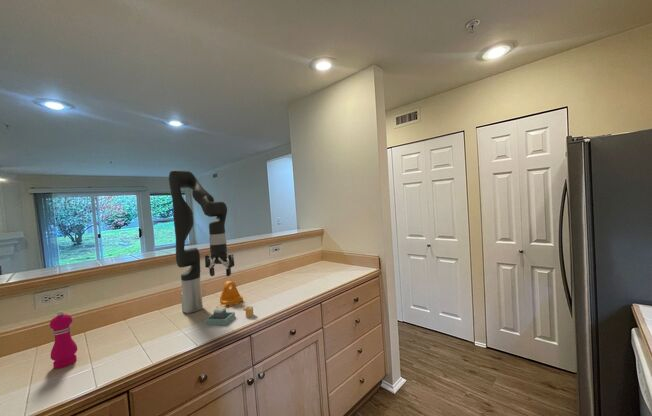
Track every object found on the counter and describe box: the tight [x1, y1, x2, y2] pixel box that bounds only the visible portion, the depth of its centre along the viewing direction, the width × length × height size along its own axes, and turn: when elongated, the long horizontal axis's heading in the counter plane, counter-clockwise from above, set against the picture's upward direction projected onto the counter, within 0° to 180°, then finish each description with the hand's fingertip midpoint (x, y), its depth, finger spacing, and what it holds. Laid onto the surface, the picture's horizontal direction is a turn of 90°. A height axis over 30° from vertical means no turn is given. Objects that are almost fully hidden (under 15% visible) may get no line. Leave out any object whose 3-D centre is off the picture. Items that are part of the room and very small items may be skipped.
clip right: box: [243, 306, 254, 318], centre depth 133 cm, size 4×3×4 cm
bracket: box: [219, 280, 244, 307], centre depth 152 cm, size 11×7×12 cm, turn 129°
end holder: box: [205, 311, 236, 326], centre depth 129 cm, size 10×8×2 cm
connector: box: [213, 306, 227, 319], centre depth 129 cm, size 4×4×6 cm
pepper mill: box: [49, 310, 78, 369], centre depth 100 cm, size 7×7×20 cm
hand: (220, 275), depth 131 cm, fingers open, 8 cm apart
